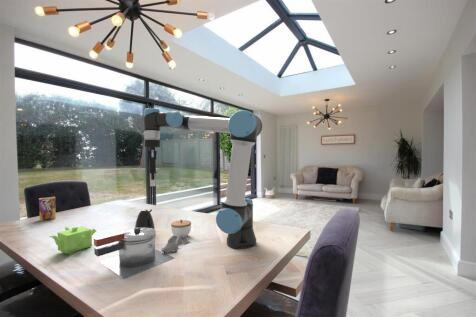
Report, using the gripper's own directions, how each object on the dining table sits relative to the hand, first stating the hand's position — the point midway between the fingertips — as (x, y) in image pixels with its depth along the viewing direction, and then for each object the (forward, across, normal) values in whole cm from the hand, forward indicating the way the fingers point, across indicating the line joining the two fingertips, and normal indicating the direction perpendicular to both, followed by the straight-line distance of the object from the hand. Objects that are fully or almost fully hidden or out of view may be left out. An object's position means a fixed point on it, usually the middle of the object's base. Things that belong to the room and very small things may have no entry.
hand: (152, 185), depth 122 cm
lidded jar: (+30, -5, +14) cm, 33 cm away
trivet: (+29, +20, -6) cm, 36 cm away
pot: (+28, +22, -10) cm, 38 cm away
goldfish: (+30, +10, +11) cm, 33 cm away
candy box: (+30, -74, -70) cm, 106 cm away
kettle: (+30, -3, -36) cm, 46 cm away
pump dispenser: (+30, -11, -4) cm, 32 cm away
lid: (+18, +22, -10) cm, 31 cm away
